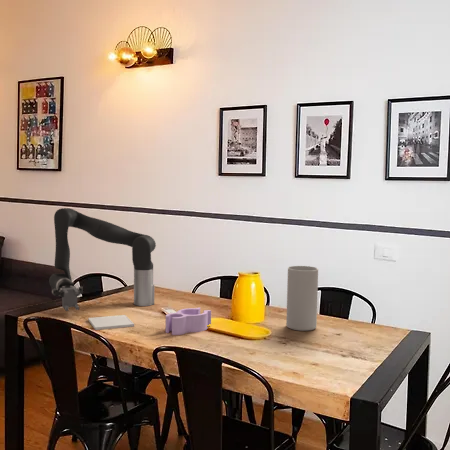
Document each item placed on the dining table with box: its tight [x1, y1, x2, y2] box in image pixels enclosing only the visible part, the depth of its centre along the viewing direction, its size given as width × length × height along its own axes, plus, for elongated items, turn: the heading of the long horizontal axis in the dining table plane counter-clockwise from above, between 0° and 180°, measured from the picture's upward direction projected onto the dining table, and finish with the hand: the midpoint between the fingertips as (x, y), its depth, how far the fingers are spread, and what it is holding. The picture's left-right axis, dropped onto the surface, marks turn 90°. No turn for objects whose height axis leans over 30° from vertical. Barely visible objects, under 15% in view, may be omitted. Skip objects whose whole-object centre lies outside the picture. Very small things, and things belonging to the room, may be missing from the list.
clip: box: [165, 307, 212, 336], centre depth 232 cm, size 20×12×7 cm, turn 136°
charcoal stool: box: [61, 286, 80, 312], centre depth 250 cm, size 6×10×8 cm, turn 23°
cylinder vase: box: [285, 265, 319, 332], centre depth 236 cm, size 12×12×25 cm
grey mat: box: [87, 314, 135, 331], centre depth 239 cm, size 16×16×1 cm
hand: (70, 294), depth 250 cm, fingers closed on charcoal stool, 6 cm apart
